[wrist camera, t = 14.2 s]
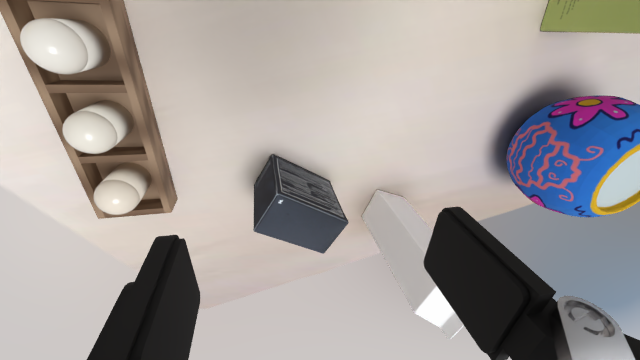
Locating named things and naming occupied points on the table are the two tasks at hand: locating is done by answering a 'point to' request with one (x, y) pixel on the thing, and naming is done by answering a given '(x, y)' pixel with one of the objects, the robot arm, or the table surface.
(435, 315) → the milk
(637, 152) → the ceramic pot
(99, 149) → the egg middle
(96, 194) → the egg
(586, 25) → the protein box
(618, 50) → the table surface
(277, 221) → the small box
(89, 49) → the white rounded cylinder
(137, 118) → the crate
